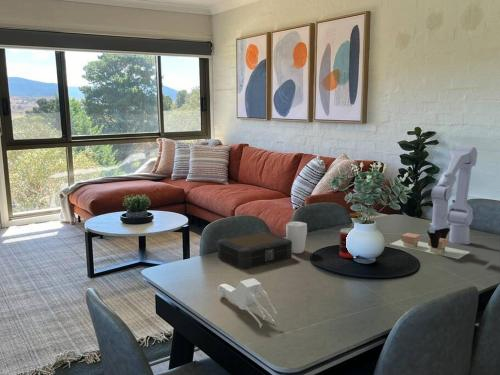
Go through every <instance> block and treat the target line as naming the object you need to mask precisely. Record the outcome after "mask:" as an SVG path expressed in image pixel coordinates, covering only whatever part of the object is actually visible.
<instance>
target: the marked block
mask: <svg viewBox="0 0 500 375" xmlns="http://www.w3.org/2000/svg"><path fill="white" fill-rule="evenodd" d="M403 246H406V247H410V248H414V247H416V246H418V242H417V243H415V244H413V243H408V242H404V244H403ZM406 247H405V248H406ZM410 248H409V249H410Z"/></svg>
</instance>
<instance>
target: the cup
mask: <svg viewBox="0 0 500 375" xmlns="http://www.w3.org/2000/svg"><path fill="white" fill-rule="evenodd" d="M285 226H286V227H285V234H286V235H285V236H286V239H288V240H291V241H292V254H301V253H304V252H305V246H306V242H307V241H306V240H307V234H308V225H307V223H306V222H303V221H289V222H288V221H287V223H286V225H285Z"/></svg>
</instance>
